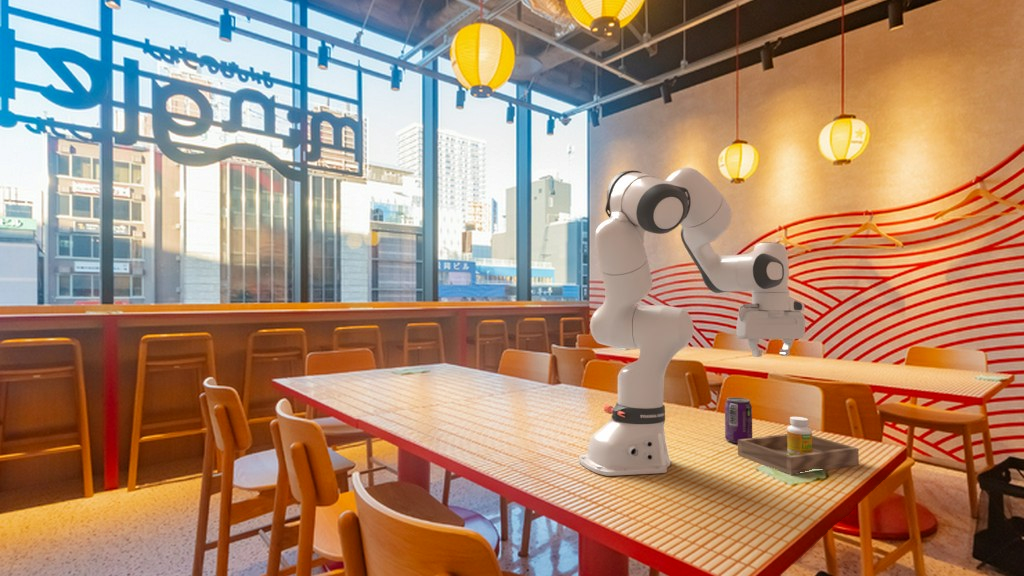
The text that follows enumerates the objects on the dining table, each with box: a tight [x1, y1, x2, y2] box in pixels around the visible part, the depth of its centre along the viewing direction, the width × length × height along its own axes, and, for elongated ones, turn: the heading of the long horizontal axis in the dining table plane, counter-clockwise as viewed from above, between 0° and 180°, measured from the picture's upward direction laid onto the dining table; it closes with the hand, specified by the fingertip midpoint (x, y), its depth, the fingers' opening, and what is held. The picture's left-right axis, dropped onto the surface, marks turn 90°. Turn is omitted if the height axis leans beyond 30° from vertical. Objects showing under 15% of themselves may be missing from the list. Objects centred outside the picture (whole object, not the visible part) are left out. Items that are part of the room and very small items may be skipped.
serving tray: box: [737, 433, 860, 476], centre depth 125 cm, size 22×16×4 cm
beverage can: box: [724, 397, 753, 445], centre depth 142 cm, size 7×7×12 cm
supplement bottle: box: [786, 416, 813, 456], centre depth 124 cm, size 5×5×10 cm
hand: (771, 356), depth 131 cm, fingers open, 8 cm apart
